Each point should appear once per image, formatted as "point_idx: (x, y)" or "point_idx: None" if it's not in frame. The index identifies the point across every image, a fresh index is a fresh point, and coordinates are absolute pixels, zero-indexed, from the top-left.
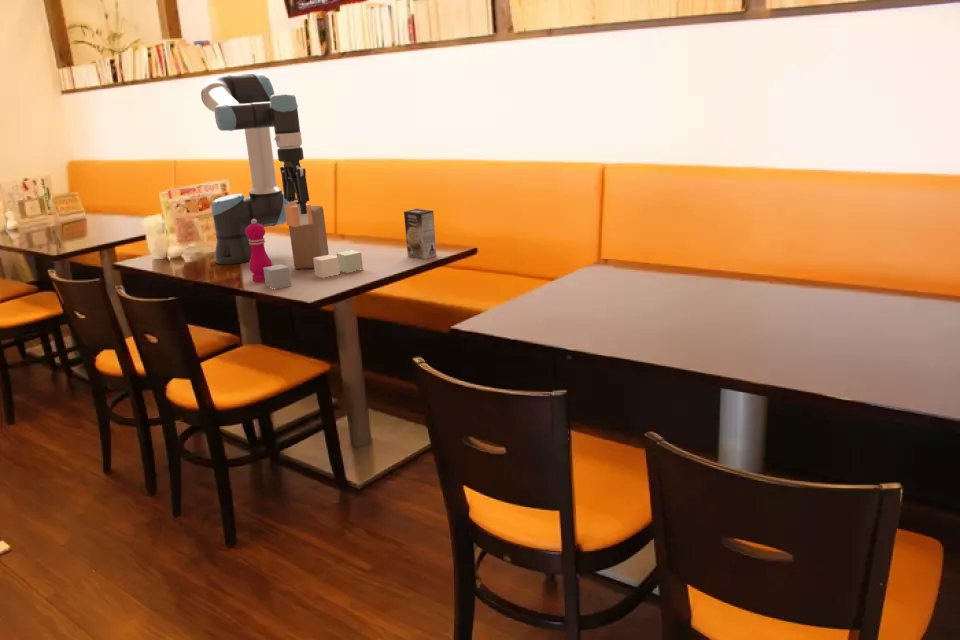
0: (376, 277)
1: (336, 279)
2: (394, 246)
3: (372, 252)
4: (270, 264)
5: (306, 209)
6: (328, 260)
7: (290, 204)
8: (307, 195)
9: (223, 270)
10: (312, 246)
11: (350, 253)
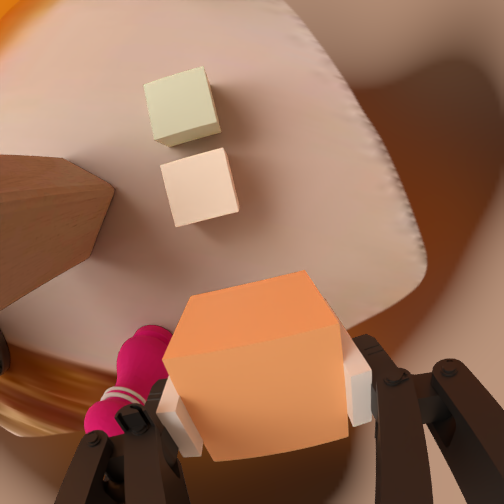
0: (324, 81)
1: (277, 176)
2: (38, 12)
3: (46, 52)
4: (157, 346)
5: (381, 347)
6: (232, 184)
7: (200, 436)
8: (478, 391)
9: (46, 380)
10: (79, 213)
11: (194, 98)
